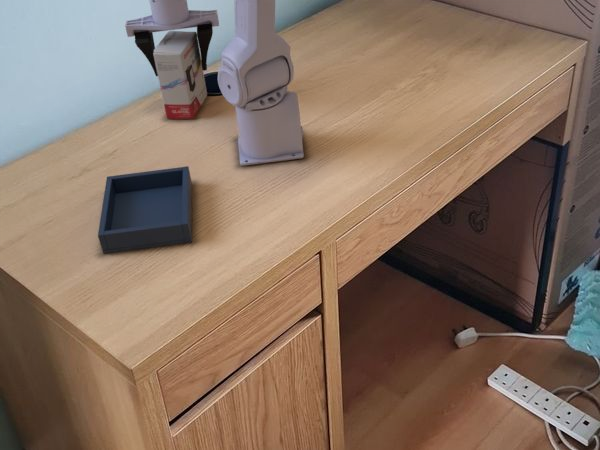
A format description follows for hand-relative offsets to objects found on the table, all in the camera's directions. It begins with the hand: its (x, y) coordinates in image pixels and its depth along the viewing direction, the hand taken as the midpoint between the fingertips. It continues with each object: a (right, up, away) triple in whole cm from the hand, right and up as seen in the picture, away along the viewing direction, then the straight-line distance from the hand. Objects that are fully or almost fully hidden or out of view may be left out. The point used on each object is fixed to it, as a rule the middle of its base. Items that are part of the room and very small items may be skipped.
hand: (181, 70), depth 130 cm
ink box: (+1, -6, +3) cm, 6 cm away
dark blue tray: (-1, -24, -21) cm, 33 cm away
